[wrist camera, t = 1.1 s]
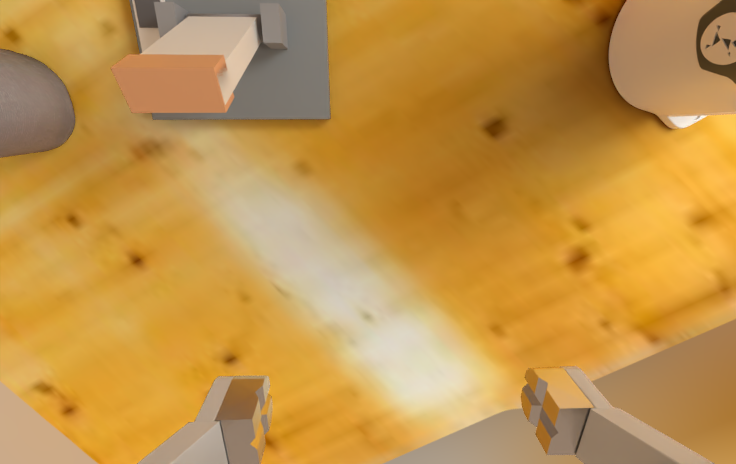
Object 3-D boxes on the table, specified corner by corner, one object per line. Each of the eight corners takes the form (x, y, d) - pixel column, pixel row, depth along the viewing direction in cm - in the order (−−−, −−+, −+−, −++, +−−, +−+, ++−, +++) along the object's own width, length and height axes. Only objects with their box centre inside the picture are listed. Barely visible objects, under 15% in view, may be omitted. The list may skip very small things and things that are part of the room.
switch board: (330, 118, 38) (327, 120, 33) (160, 119, 37) (132, 120, 32) (323, -62, 32) (319, -91, 28) (125, -66, 32) (85, -97, 27)
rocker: (267, 41, 34) (229, 112, 23) (199, 40, 33) (128, 112, 22) (261, 7, 32) (216, 68, 21) (189, 6, 31) (106, 67, 21)
